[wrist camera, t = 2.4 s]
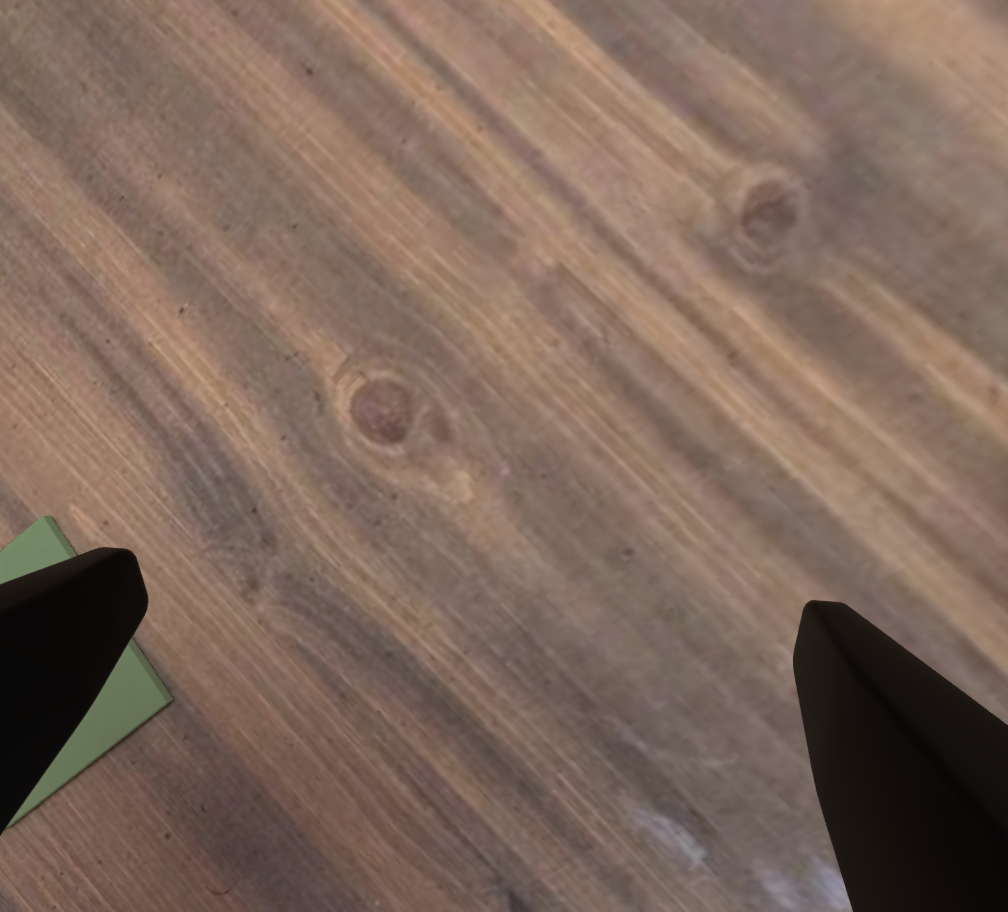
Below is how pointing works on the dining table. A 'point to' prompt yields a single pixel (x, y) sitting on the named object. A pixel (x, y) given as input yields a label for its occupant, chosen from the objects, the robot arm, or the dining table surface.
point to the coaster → (122, 697)
